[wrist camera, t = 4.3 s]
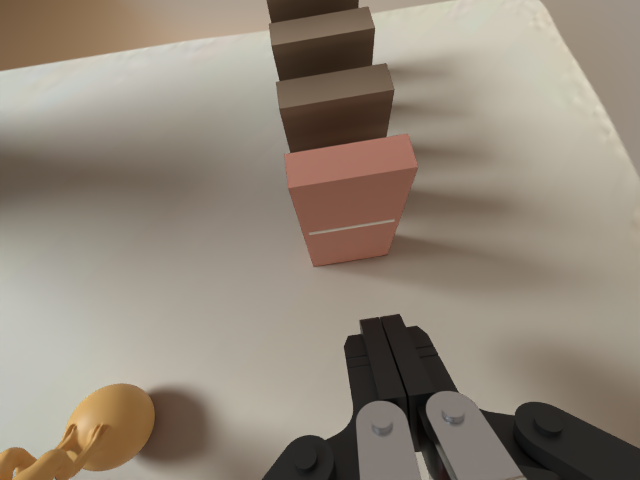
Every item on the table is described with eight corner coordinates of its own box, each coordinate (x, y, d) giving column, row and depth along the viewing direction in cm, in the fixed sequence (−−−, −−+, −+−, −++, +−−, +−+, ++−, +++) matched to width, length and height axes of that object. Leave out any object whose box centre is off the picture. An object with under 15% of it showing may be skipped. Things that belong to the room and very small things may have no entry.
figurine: (209, 383, 19) (21, 400, 8) (192, 508, 17) (-98, 767, 6) (78, 381, 20) (-261, 394, 9) (46, 501, 18) (-467, 724, 6)
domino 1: (355, 117, 26) (359, -22, 17) (294, 127, 26) (265, -6, 17) (351, 101, 27) (353, -41, 17) (291, 111, 27) (263, -25, 18)
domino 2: (364, 157, 24) (375, 28, 15) (299, 168, 25) (271, 46, 15) (360, 140, 25) (368, 6, 16) (297, 150, 25) (268, 23, 16)
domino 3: (375, 203, 23) (394, 90, 14) (306, 214, 23) (279, 109, 14) (370, 183, 24) (385, 62, 14) (303, 194, 24) (275, 80, 14)
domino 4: (387, 255, 21) (418, 167, 12) (313, 267, 21) (288, 189, 12) (382, 232, 22) (407, 132, 13) (310, 244, 22) (284, 153, 13)
